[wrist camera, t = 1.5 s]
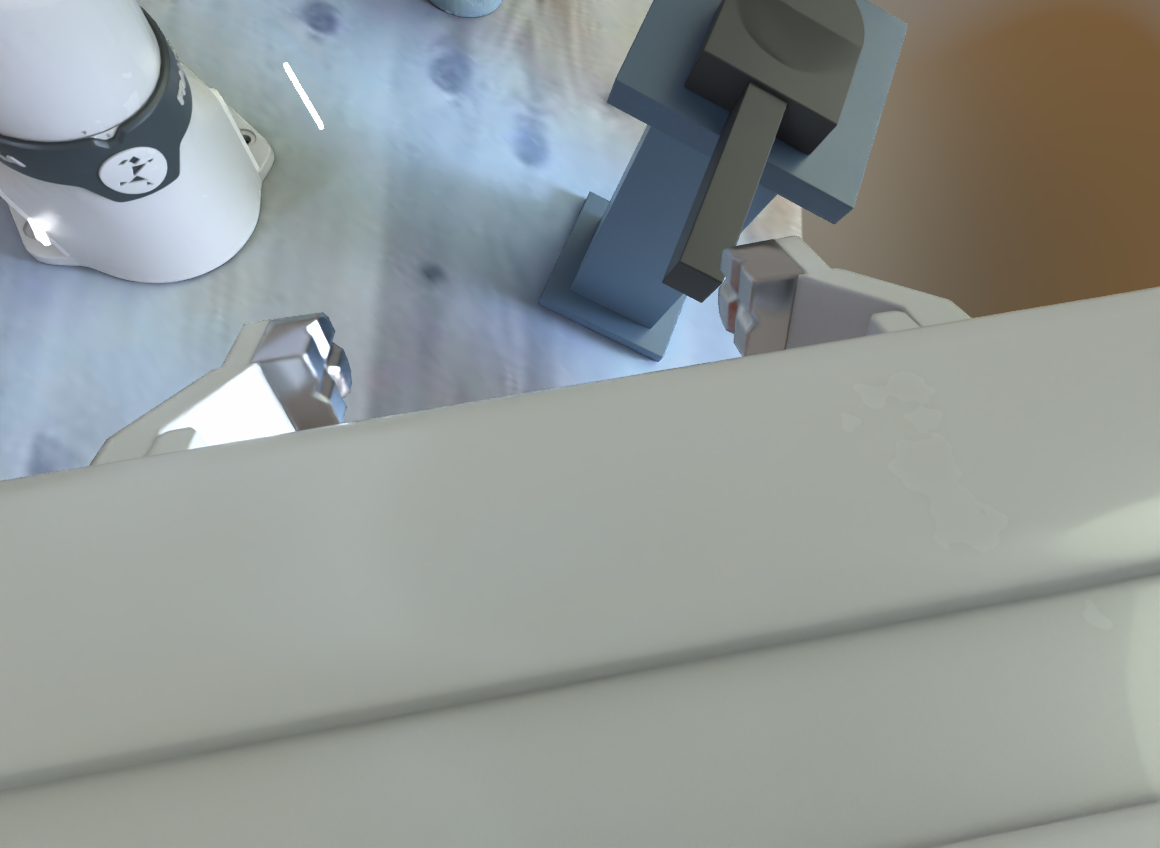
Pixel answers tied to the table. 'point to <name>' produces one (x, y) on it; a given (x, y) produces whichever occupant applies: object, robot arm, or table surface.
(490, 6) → the green cup
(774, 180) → the stand
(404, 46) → the table surface
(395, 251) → the table surface
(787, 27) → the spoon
